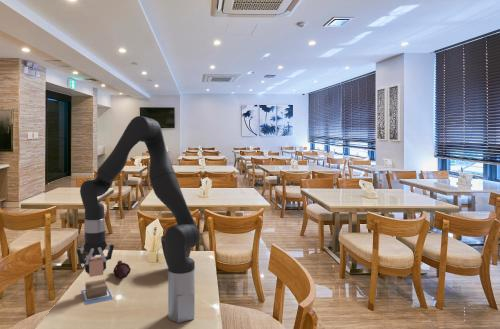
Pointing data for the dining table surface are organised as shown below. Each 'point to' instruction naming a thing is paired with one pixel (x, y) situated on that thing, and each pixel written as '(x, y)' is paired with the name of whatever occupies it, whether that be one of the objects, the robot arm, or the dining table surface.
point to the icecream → (121, 269)
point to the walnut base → (96, 289)
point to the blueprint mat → (97, 299)
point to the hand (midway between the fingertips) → (95, 271)
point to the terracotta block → (95, 266)
